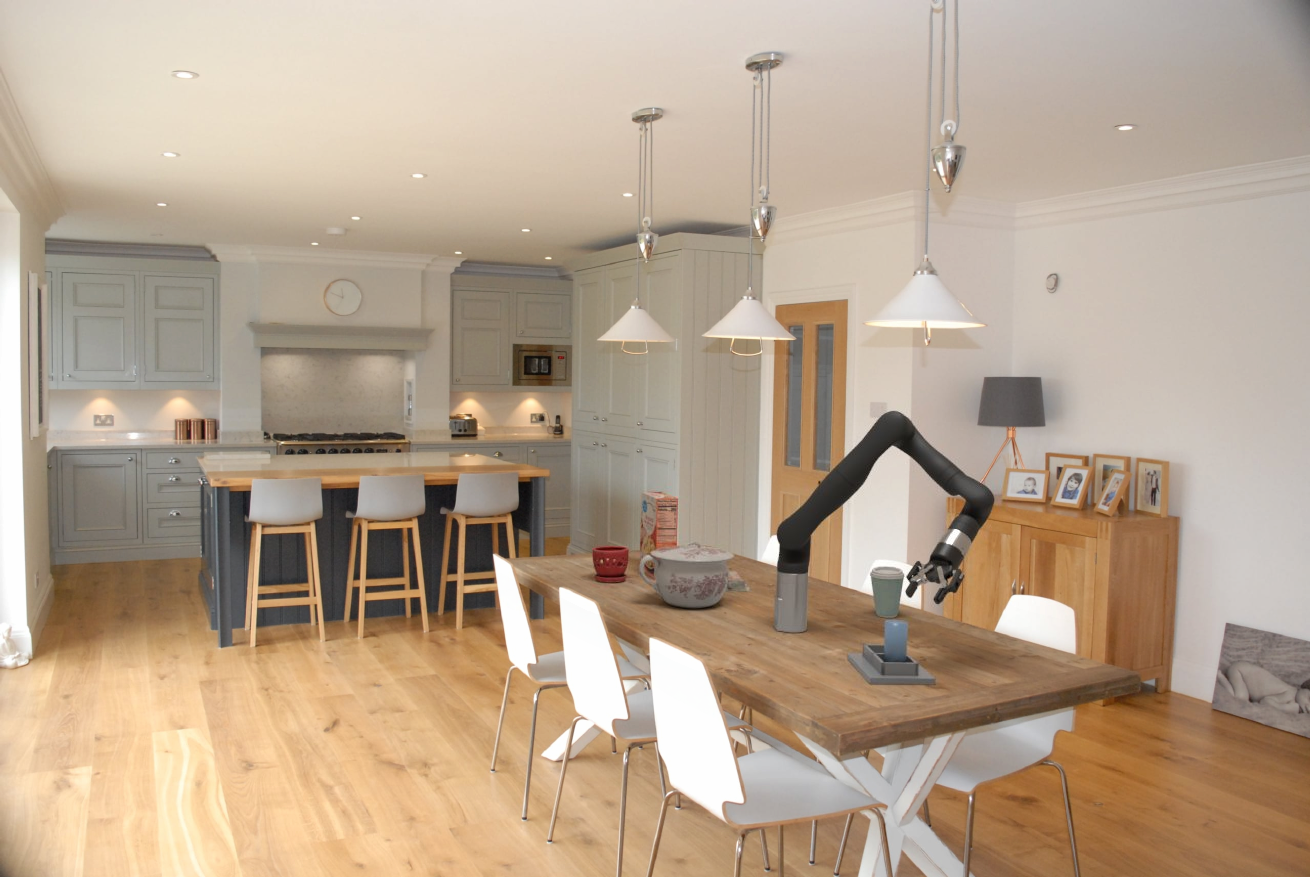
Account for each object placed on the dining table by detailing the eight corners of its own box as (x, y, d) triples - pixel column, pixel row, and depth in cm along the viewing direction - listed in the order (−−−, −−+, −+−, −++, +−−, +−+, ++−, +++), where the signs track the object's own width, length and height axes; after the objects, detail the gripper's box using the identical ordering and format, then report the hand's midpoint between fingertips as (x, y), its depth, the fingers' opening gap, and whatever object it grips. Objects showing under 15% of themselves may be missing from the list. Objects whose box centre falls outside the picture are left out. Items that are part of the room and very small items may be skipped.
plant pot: (630, 577, 357) (630, 545, 357) (625, 584, 344) (626, 551, 344) (595, 576, 359) (595, 544, 358) (589, 583, 346) (589, 549, 345)
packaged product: (750, 579, 337) (722, 579, 337) (750, 593, 338) (722, 592, 337) (742, 569, 355) (715, 569, 355) (742, 582, 356) (715, 582, 355)
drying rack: (869, 684, 233) (870, 665, 233) (847, 658, 255) (847, 641, 255) (935, 684, 234) (935, 666, 234) (906, 659, 256) (907, 642, 256)
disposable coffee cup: (903, 620, 300) (905, 572, 299) (868, 618, 302) (870, 570, 301) (902, 613, 310) (904, 566, 310) (867, 610, 312) (869, 564, 312)
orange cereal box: (639, 568, 376) (641, 491, 375) (659, 568, 378) (661, 491, 377) (654, 580, 354) (656, 498, 353) (675, 579, 356) (678, 498, 355)
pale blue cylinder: (887, 673, 237) (888, 624, 237) (880, 666, 243) (882, 619, 242) (909, 673, 238) (910, 625, 237) (902, 666, 243) (903, 619, 243)
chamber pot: (744, 601, 323) (746, 539, 322) (714, 617, 298) (716, 550, 297) (668, 591, 334) (669, 532, 333) (633, 607, 309) (634, 542, 308)
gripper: (922, 537, 256) (892, 584, 249) (969, 545, 245) (939, 594, 238) (933, 555, 259) (905, 602, 253) (980, 564, 248) (951, 613, 242)
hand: (921, 599), depth 246 cm, fingers open, 8 cm apart
